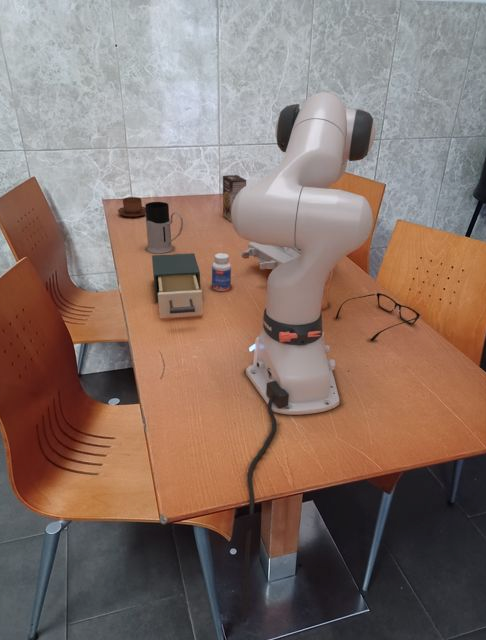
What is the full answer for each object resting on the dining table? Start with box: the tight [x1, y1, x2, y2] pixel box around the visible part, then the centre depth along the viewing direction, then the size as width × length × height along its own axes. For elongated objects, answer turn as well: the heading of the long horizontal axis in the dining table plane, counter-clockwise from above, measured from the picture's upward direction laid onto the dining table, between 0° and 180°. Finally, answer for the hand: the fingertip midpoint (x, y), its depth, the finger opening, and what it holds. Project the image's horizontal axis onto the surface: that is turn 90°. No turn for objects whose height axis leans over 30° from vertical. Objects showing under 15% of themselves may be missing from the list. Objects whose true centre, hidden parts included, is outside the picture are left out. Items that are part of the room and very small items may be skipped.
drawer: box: [157, 274, 204, 319], centre depth 129 cm, size 19×11×7 cm, turn 11°
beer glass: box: [321, 267, 335, 310], centre depth 133 cm, size 7×7×15 cm
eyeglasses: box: [335, 292, 421, 341], centre depth 128 cm, size 16×16×4 cm
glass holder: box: [144, 201, 184, 254], centre depth 166 cm, size 9×14×15 cm, turn 62°
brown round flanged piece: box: [117, 196, 146, 218], centre depth 202 cm, size 12×12×6 cm
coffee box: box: [222, 174, 247, 223], centre depth 198 cm, size 9×6×16 cm
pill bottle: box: [211, 252, 232, 292], centre depth 142 cm, size 6×5×10 cm
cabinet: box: [151, 252, 201, 303], centre depth 141 cm, size 14×12×8 cm
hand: (250, 260), depth 146 cm, fingers open, 8 cm apart
